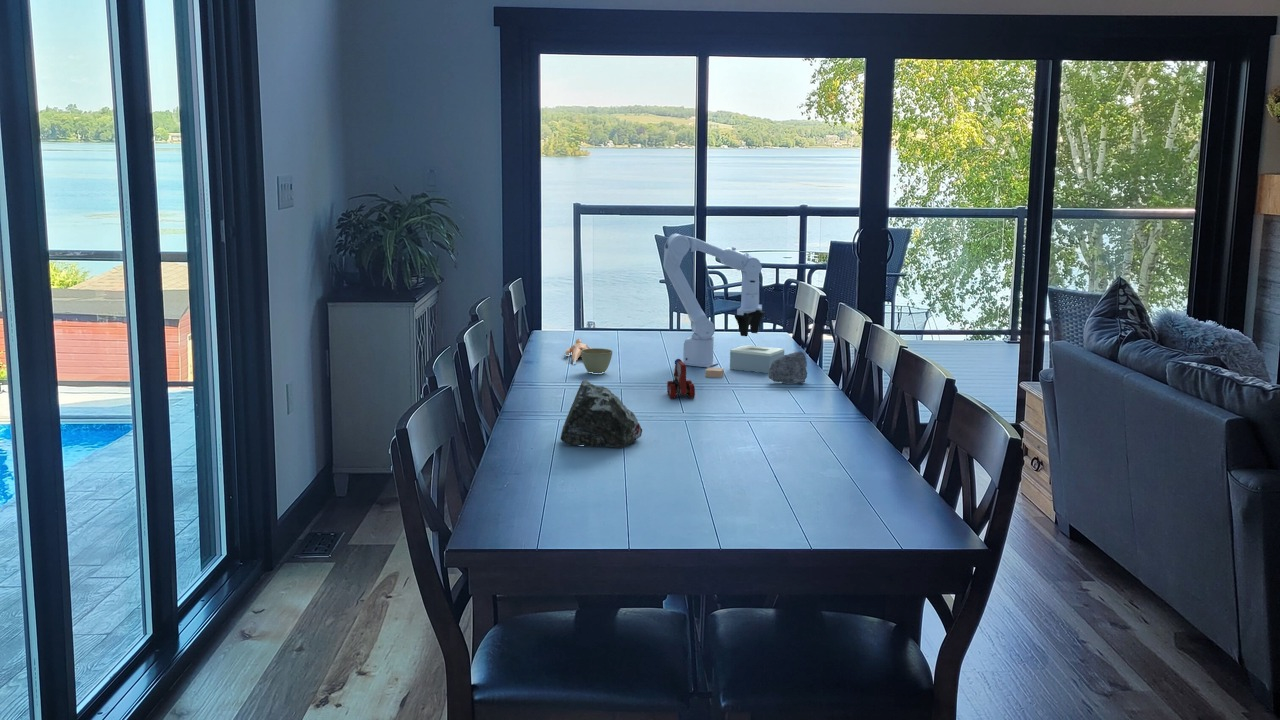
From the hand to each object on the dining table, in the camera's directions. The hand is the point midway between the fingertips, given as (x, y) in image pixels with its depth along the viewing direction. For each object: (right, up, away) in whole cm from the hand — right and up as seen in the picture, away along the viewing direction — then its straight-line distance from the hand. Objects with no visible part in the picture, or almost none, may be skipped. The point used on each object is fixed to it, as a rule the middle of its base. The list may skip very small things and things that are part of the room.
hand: (749, 334), depth 358 cm
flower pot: (-50, -13, -15) cm, 54 cm away
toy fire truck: (-24, -19, -48) cm, 57 cm away
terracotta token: (-13, -14, -18) cm, 26 cm away
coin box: (+2, -11, -6) cm, 13 cm away
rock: (+9, -16, -29) cm, 34 cm away
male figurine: (-56, -8, +11) cm, 58 cm away
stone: (-47, -28, -101) cm, 115 cm away
